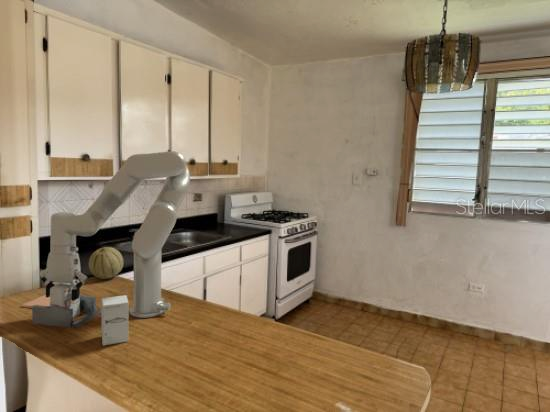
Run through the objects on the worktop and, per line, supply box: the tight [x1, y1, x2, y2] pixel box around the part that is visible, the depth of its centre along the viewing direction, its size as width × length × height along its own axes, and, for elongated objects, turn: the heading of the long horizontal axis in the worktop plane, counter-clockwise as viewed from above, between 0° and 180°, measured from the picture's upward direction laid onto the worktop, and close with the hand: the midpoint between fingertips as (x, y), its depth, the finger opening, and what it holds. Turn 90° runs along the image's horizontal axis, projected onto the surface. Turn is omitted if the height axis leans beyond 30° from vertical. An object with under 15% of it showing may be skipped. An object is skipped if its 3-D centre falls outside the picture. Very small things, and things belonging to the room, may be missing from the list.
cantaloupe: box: [88, 246, 124, 280], centre depth 171 cm, size 15×15×15 cm
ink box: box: [50, 282, 81, 318], centre depth 126 cm, size 9×5×12 cm, turn 168°
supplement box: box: [100, 294, 130, 347], centre depth 113 cm, size 7×7×13 cm
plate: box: [21, 294, 50, 309], centre depth 140 cm, size 13×13×1 cm
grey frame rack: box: [31, 294, 101, 329], centre depth 127 cm, size 16×13×6 cm
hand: (62, 297), depth 126 cm, fingers open, 9 cm apart
